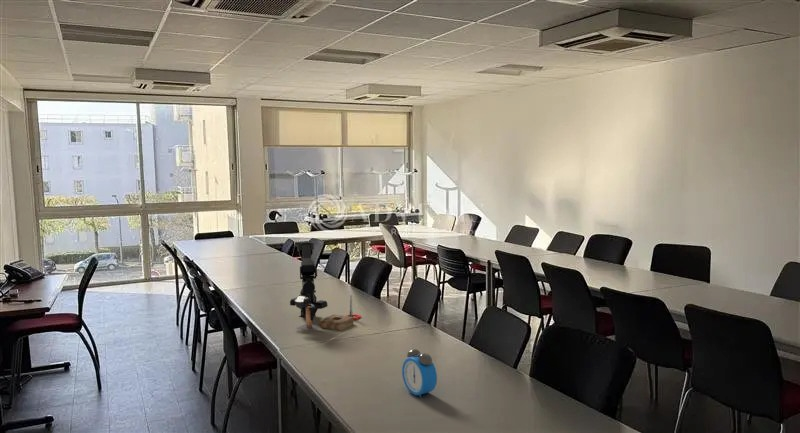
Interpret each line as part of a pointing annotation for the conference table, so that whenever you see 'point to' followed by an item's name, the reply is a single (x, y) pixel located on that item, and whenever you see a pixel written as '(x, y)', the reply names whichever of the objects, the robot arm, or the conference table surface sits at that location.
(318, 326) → the mat
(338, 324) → the socket block
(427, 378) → the alarm clock
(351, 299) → the tow hook
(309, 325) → the peg
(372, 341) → the conference table surface
